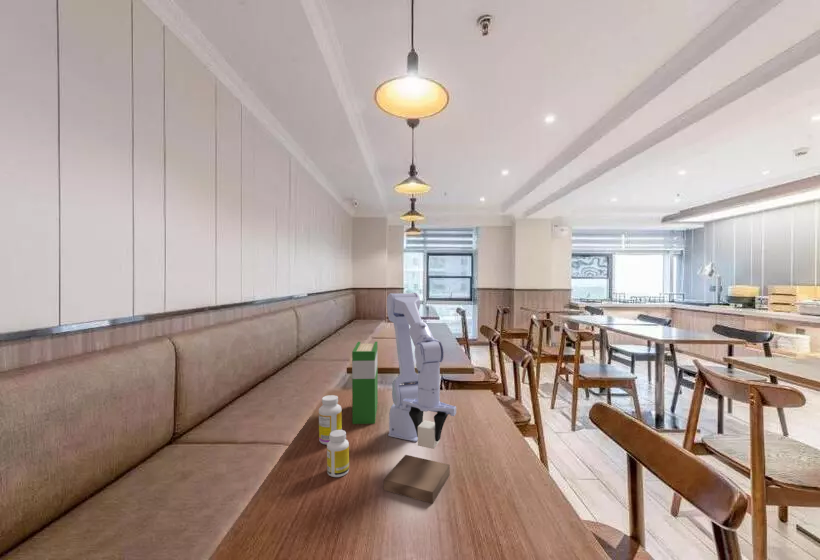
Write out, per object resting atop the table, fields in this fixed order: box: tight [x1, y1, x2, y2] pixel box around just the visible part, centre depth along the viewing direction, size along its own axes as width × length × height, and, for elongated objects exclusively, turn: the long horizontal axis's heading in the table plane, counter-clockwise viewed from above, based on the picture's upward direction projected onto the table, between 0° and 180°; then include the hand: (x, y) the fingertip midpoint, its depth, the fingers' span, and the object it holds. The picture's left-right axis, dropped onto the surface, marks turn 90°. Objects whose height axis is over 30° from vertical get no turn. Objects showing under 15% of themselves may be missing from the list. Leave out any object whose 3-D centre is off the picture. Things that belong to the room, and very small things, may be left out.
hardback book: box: [351, 341, 379, 425], centre depth 125 cm, size 18×7×24 cm, turn 2°
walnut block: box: [383, 454, 451, 504], centre depth 84 cm, size 12×12×2 cm
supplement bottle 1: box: [318, 394, 343, 446], centre depth 105 cm, size 7×7×13 cm
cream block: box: [417, 419, 441, 450], centre depth 93 cm, size 4×4×5 cm
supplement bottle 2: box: [326, 429, 350, 478], centre depth 88 cm, size 5×5×10 cm
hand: (428, 437), depth 93 cm, fingers closed on cream block, 4 cm apart
